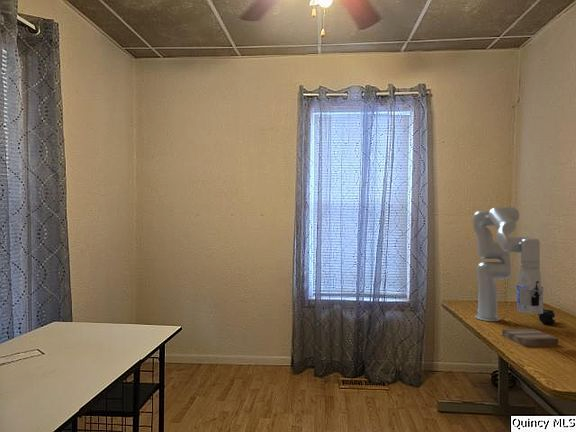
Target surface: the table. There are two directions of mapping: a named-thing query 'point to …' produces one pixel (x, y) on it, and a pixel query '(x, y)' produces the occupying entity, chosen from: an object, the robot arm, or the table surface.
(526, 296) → the ink cartridge box
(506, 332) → the walnut base
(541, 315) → the end cap
